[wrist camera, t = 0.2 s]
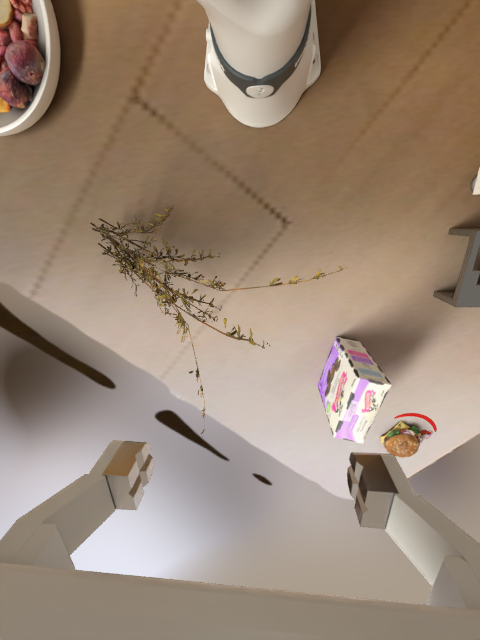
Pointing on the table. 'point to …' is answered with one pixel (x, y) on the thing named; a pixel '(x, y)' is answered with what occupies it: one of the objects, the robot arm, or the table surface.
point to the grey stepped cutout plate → (465, 274)
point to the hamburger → (405, 437)
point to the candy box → (351, 389)
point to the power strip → (476, 184)
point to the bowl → (27, 62)
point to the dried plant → (150, 277)
